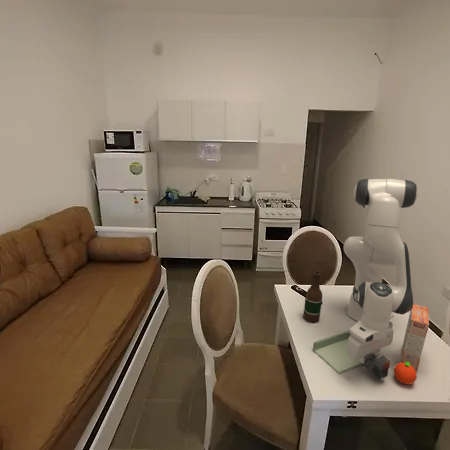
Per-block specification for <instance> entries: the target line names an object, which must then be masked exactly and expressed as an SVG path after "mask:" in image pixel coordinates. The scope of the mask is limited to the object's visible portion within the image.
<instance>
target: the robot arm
mask: <svg viewBox="0 0 450 450" xmlns="http://www.w3.org/2000/svg"><path fill="white" fill-rule="evenodd" d="M418 196H419V191H418V187H417V184H416V183H415V182H414V181H411V180H408V179H405V180H403V179H396V178H371V179H369V178H363V179H359V180H358V181H357V182H356V184H355V186H354V188H353V198H354V201H355V202H356V203H357V204H358V205H360V206H362V208H363V209H365V214H364V222H363V227H364V229H365V231H364V232H365V233H364V234H365V235H364V236H349V237H347V238H346V239H345V241H344V243H343V251H344V254H345V255H346V257H347V258H348V259H349V260H350V261H351V262H352V265H353V266H354V270H355V283H354V285H353V288H352V293H351V295H350V298H349V302H348V304H346V314H347V315H348V317H350V319H352V320H354V321H357V322H356V323H355V324H354V325H353V326H351V327H349V329H348V330H349V333H350V334H351V335H350V336H349V339H348V343H347V349H346V352H347V354H348V355H349V356H350V357H352V358H353V359H358V358H359V361H360V362H361V363H362V364H364V363H366V358H364V357H365V356H366V355H367V354H370V353H371V354H373V355H374V356H375V357H376V356H377V357H378V354H379V352H380V351H381V349H383V348H386V347H389V346H390V345H392V343H393V340H394V329H393V327H394V325H393V322H391V321H390V319H392V318H393V317H394V313H395V314H397V315H398V314H399V315H402V316H403V315H405V314H407V313H410V311H411V310H412V308H413V304H415V303H414V294H413V287H412V278H411V265H410V263H411V261H410V252H409V248H408V245H407V243H406V242H404V241H402V238H401V235H400V223H401V222H400V221H401V209H404V208H411V207H412V206H414V204H415V202H416V201H417V199H418ZM365 206H366V207H365ZM371 263H373V264H377V265H381V266H385V267H386V266H387V267H396V280H397V281H396V284H389V283H387V284H386V283H384V282H383V276H382V274H381V273H380V271H379V270H377V269H376V268H374V266H372V264H371Z"/></svg>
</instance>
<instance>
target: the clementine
mask: <svg viewBox="0 0 450 450" xmlns="http://www.w3.org/2000/svg"><path fill="white" fill-rule="evenodd" d="M393 373H394V376H395V378H396V379H397V381H399V382H400V383H401V384H405V385H410V384H411V385H412V384H413V383H414V382H415V381H416V380H417V373H416V371H415V369H414V368H413V367H412V366H411V365H410V362H406V363H400V362H399V363H397V364H396V365H395V366H394V368H393Z"/></svg>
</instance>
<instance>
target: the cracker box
mask: <svg viewBox="0 0 450 450" xmlns="http://www.w3.org/2000/svg"><path fill="white" fill-rule="evenodd" d="M429 315H430V313H429V307H427V306H423V305H419V304H415V303H413V308H412V310H410V311H409V316H408V320H407V324H406V329H405V334H404V337H403V341H402V345H401V351H400V352H401V353H400V362H399V363H406V362H410V365H411V366H412V367H413V368H414V369H415V371H416V374H417V372H418V368H419V366H420V361H421V357H422V354H423V349H424V345H425V342H426V338H427V334H428V330H429V326H430V322H429V321H430V316H429Z"/></svg>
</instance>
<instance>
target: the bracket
mask: <svg viewBox="0 0 450 450" xmlns="http://www.w3.org/2000/svg"><path fill="white" fill-rule="evenodd" d="M364 358H366V363H364V364H362V363H361V365H360V366H362V367H363V368H364V369H365V370H367V371H368V372H369V373H370V374H371V375H373V376H374V377H375V378H377V380H379V381H380V380H382V379H385V378H386V377H388V374H389V369H390V364H391V360H390V359H388V357H386V356H384V355H380V356H379V357H378V356H377V357H375V356H374V355H373V354H371V353H370V354H367V355H366V356H365V357H364Z"/></svg>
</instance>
